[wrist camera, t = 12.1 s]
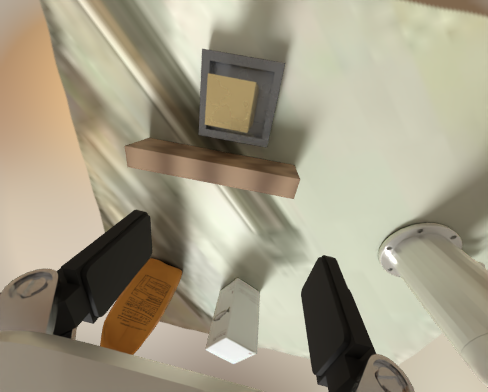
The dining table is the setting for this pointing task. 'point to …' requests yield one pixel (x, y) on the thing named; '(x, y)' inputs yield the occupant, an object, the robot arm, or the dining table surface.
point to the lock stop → (230, 103)
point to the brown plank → (213, 167)
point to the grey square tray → (249, 70)
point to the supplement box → (235, 323)
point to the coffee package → (140, 307)
